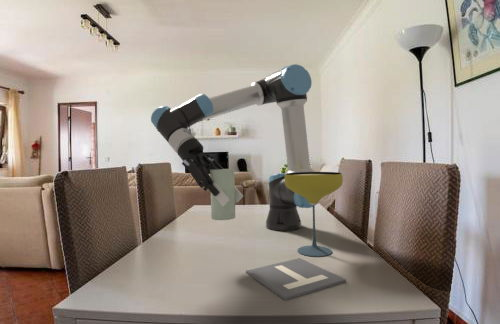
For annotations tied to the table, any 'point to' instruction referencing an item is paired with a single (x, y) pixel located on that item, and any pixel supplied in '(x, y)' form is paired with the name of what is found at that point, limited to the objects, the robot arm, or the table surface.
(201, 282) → the table surface
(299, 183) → the cocktail glass
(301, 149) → the robot arm
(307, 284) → the letter board
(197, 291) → the table surface
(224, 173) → the green canister
